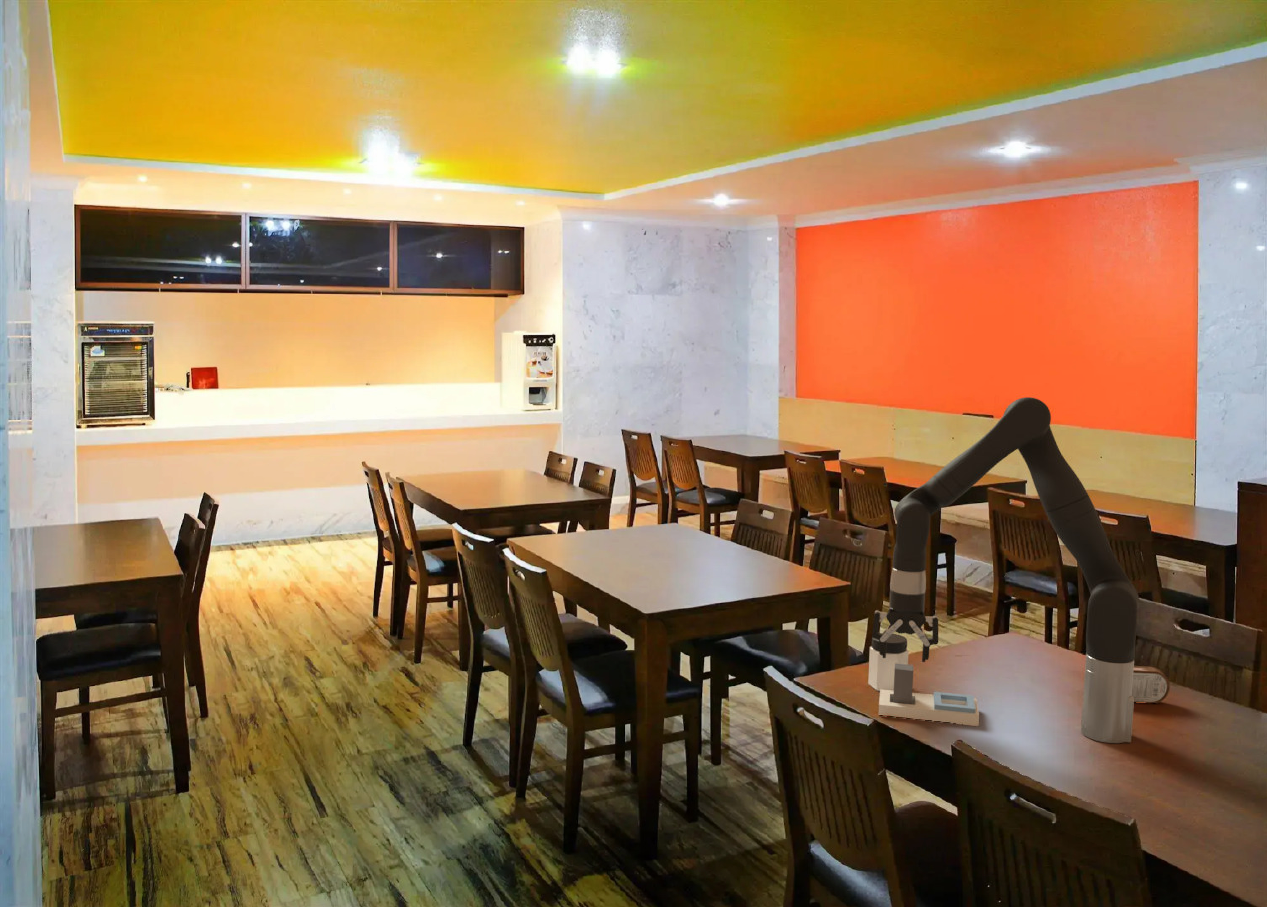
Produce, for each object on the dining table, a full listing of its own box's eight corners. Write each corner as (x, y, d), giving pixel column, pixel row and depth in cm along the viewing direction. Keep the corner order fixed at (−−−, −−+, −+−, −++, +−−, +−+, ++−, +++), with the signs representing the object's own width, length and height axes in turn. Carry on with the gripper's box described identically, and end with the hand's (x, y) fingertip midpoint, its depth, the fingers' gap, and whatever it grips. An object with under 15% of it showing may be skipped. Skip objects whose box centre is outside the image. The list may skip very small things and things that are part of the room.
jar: (912, 691, 241) (914, 642, 239) (880, 694, 239) (882, 644, 238) (894, 678, 250) (896, 631, 248) (863, 681, 248) (865, 633, 246)
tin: (1164, 701, 237) (1167, 666, 236) (1170, 706, 234) (1173, 670, 233) (1097, 698, 238) (1099, 663, 237) (1101, 703, 235) (1104, 667, 234)
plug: (911, 707, 231) (913, 664, 230) (911, 714, 227) (913, 670, 226) (893, 705, 232) (894, 663, 231) (892, 712, 228) (894, 668, 227)
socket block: (975, 709, 230) (976, 694, 230) (978, 726, 221) (979, 710, 220) (879, 699, 236) (880, 685, 235) (878, 715, 226) (879, 700, 226)
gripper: (940, 587, 228) (936, 657, 230) (875, 581, 232) (871, 650, 234) (941, 595, 221) (937, 668, 223) (874, 589, 224) (870, 661, 227)
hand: (903, 659), depth 228 cm, fingers open, 8 cm apart
